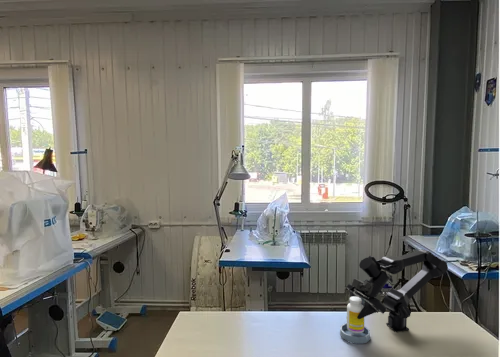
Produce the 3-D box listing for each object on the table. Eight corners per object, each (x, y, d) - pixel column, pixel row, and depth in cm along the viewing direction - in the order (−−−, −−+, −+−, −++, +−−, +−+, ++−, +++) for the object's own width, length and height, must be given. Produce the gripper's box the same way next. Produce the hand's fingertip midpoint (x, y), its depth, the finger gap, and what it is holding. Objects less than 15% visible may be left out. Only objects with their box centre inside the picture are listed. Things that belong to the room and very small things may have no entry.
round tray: (359, 327, 138) (359, 321, 137) (375, 341, 127) (375, 335, 127) (335, 330, 135) (335, 324, 135) (349, 345, 124) (349, 339, 124)
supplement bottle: (367, 333, 128) (367, 302, 127) (351, 335, 127) (351, 303, 126) (359, 325, 135) (359, 294, 134) (344, 326, 134) (344, 295, 133)
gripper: (350, 264, 139) (327, 293, 137) (380, 280, 122) (354, 313, 119) (365, 280, 142) (343, 308, 140) (397, 297, 125) (372, 330, 122)
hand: (352, 314), depth 130 cm, fingers closed on supplement bottle, 7 cm apart
